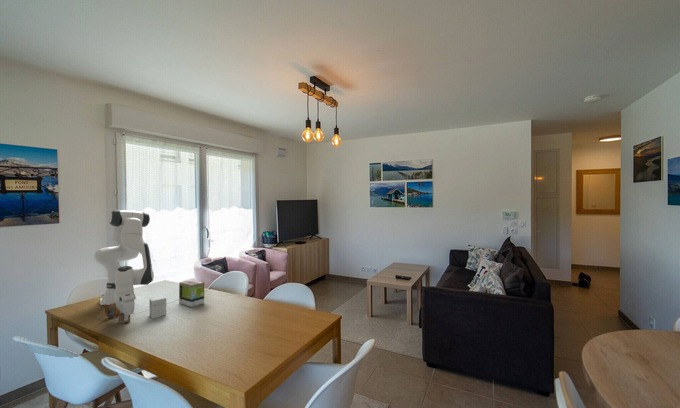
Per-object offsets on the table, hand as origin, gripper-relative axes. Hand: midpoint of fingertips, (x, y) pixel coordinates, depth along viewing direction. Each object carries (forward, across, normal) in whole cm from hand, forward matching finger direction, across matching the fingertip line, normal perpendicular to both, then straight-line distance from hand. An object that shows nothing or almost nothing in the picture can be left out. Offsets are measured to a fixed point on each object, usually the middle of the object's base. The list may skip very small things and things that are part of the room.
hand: (124, 318), depth 166 cm
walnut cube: (+2, 0, 0) cm, 2 cm away
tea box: (+2, -2, +39) cm, 39 cm away
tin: (+2, -16, +1) cm, 16 cm away
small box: (+2, +4, +16) cm, 17 cm away
